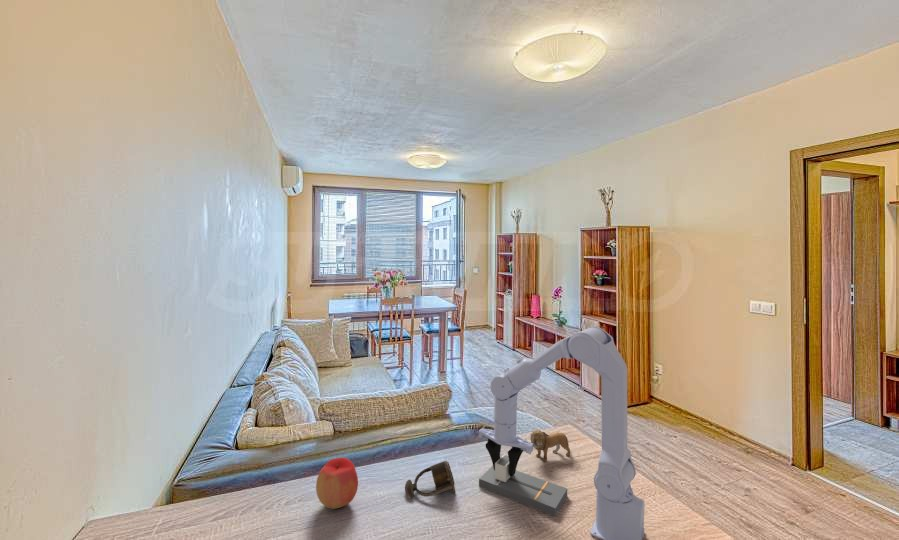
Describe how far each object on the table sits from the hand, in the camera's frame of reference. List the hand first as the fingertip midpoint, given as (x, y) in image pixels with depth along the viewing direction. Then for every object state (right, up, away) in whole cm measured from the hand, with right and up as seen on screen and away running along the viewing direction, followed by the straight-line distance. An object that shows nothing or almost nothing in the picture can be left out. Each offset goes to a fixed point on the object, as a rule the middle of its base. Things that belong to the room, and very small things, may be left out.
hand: (504, 471), depth 100 cm
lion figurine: (+15, -3, +14) cm, 21 cm away
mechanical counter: (-19, -4, -2) cm, 19 cm away
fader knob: (0, -1, 0) cm, 1 cm away
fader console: (+4, -4, -3) cm, 6 cm away
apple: (-41, -4, -8) cm, 42 cm away
